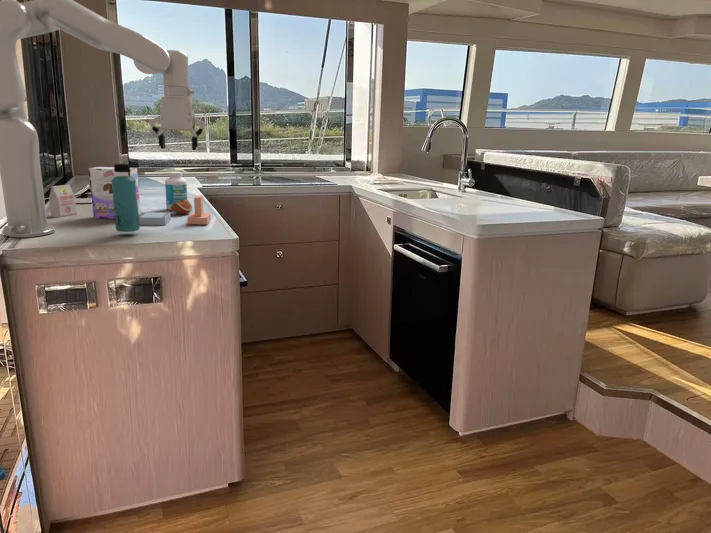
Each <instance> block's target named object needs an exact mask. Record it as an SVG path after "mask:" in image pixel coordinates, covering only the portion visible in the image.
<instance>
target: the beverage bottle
mask: <svg viewBox="0 0 711 533" xmlns="http://www.w3.org/2000/svg"><path fill="white" fill-rule="evenodd" d="M113 167H114V172H131V170H130V168H131V166H130V164H129V163H117V164H115V163H114V166H113ZM111 182H112V190H113V202H114V213H115V219H114V225H115V229H116V231H117V232H120V233H129V232H137V231H140V226H141V225H140V222H139V213H138V205H137V195H136V183H135V182H136V180H135V179H134V178H133V177H131V176H115V177H114V178H113V179H112V180H111Z"/></svg>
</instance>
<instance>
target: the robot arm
mask: <svg viewBox="0 0 711 533" xmlns="http://www.w3.org/2000/svg"><path fill="white" fill-rule="evenodd" d="M56 31H63V32H64V33H67V35H70V36H72V37H74V38H76V39H78V40H80V41H82V42H83V43H86V44H88V45H89V46H92V47H94V48H95V49H98V50H100V51H104V52H109V53H113V54H114V53H115V54H118V55H121V56H123V57H126V58H129V59H131V60H133V64H134V66H135V67H136V69H137V70H138V71H139V72H141V73H142V74H143V73H144V74H146V75H157V74H158V75H159V74H160V75H161V74H162V77H163V78H162V79H163V96H161V101H160V110H159V111H160V114H159V116H156V117H154V118H152V119H151V120H149V121H148V123H149V125H150V127H151V128H152V129H151V130H152V131H153V132H155V134H156V135H157V136H158V146H159V147H160V149H162V150H163V149H166V136H165V133H166V132H167V131H181V132H183V131H186V132H187V131H188V132H189V133H190V134H191V135H192V137H191V149H192V151H196V150H197V148H199V145H198V144H199V143H198V142H199V141H198V140H199V138H198V137H199V136H200V135H201V134H202V133H203V132H204V131H205V128H206V126H207V124H206V122H205V121H202V120H200V119H199V118H197V117H195V116H196V115H195V109H194V108H195V106H194V102H193V99H192V98H190V96H192V95H195V90H194V89H191V88H190V82H189V81H190V80H189V78H190V77H189V56H188V54H187V53H186V52H184V51H182V50H176V49H175V50H174V49H172V50H171V49H168V50H166V49H165V48H164V47H163V45H160V44H158V42H156V41H154V40H152V39H150V38H148V37H147V36H145V35H143V34H142V33H140V32H137V31H134V30H132V29H130V28H127V27H125V26H122V25H120V24H118V23H116V22H114V21H111V20H109V19H107V18H105V17H103V16H101V15H100V14H99V13H96V12H95V11H93V10H91V9H89V8H88V7H85V6H84V5H82V4H80V3H78V1H75V0H28V1H24V2H20V1H17V0H0V181H1V187H2V188H1V189H2V194H3V202H4V208H5V216H6V223H7V225H5V226H4V227H3V230H2V231H1V234H2V233H3V234H4V235H6V236H5V237H7V236H9V237H8V238H32V237H33V238H34V237H40V236H42V237H43V236H46V235H49V234H50V235H51V234H53V233H54V232H55V227H54V226H52V225H48V219H47V210H46V202H45V195H44V194H45V193H44V184H43V176H42V171H41V170H42V168H41V161H40V158H41V157H40V141H39V140H40V139H39V135H38V132H37V130H36V128H35V127H34V125H33V124H32V123H31V122H30V121H29V120H28V118H27V113H26V109H25V106H24V104H25V102H26V100H27V93H26V90H25V87H24V82H23V79H22V76H21V75H22V74H21V70H20V67H19V61H18V57H17V51H16V50H17V48H16V47H17V42H18V40H21V39H26V38H31V37H35V36H40V35H45V34H49V33H53V32H56ZM158 122H159V125H160V129H159V128H158V127H157V125H156V123H158ZM196 125H199V129H198V130H196ZM4 235H3V236H4Z"/></svg>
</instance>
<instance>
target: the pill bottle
mask: <svg viewBox="0 0 711 533" xmlns="http://www.w3.org/2000/svg"><path fill="white" fill-rule="evenodd" d="M168 176H169V177H167V178H166V179H165V180H164V182H165V183H164V185H165V186H164V187H165V204H166V209H167V210H168V211H172V209H171V208H170V207H171V206H172V205H173V204H174V203H175V202H178V201H181V200H184V199H187V200H188V187H187V186H188V184H187V179H185V178H183V172H182V171H168Z"/></svg>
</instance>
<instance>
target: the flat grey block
mask: <svg viewBox="0 0 711 533" xmlns="http://www.w3.org/2000/svg"><path fill="white" fill-rule="evenodd" d="M170 221H172V218H171V212H141V213H139V222H140V225H139V226H166V225H167V224H168V223H170Z"/></svg>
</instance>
